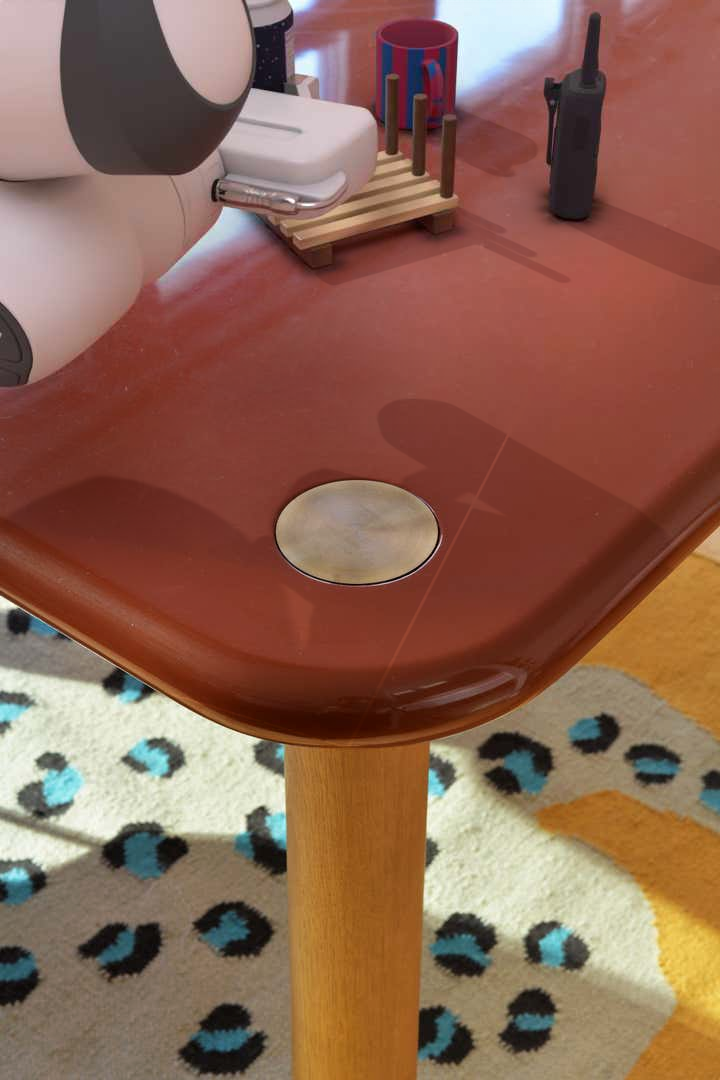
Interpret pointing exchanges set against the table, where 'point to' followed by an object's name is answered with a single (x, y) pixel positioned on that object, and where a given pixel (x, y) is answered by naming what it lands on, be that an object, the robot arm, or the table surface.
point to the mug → (418, 67)
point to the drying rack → (384, 190)
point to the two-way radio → (576, 131)
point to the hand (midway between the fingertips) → (252, 77)
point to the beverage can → (272, 43)
